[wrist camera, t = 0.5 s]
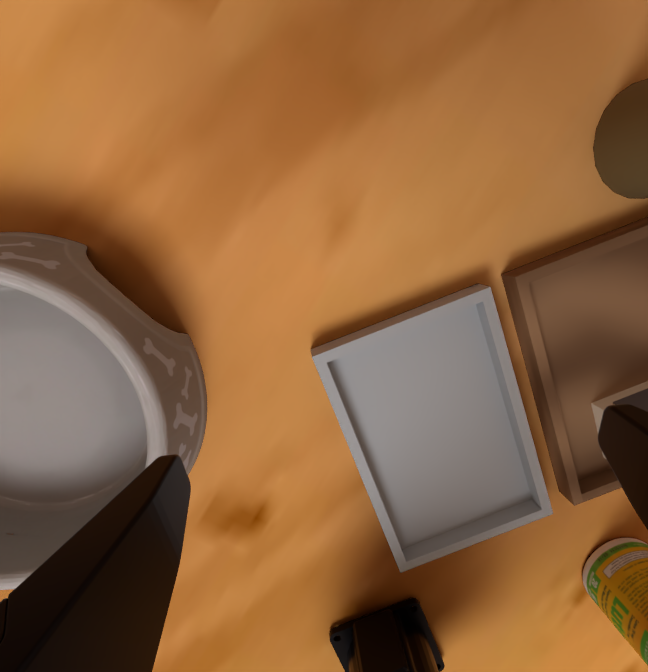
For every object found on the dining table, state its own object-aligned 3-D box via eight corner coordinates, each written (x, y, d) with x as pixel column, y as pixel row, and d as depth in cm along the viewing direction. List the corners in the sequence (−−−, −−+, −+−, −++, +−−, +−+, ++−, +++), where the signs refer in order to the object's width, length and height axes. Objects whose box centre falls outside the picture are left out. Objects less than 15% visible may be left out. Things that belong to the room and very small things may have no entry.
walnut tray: (705, 434, 28) (728, 445, 26) (559, 491, 28) (574, 505, 26) (670, 208, 24) (695, 206, 22) (501, 274, 24) (515, 277, 22)
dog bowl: (-9, 158, 21) (-109, 133, 16) (268, 395, 25) (264, 439, 20) (-203, 399, 23) (-349, 449, 17) (84, 581, 27) (36, 666, 22)
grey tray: (539, 499, 28) (553, 513, 26) (394, 555, 28) (400, 572, 26) (478, 283, 24) (490, 286, 22) (310, 349, 24) (312, 356, 23)
